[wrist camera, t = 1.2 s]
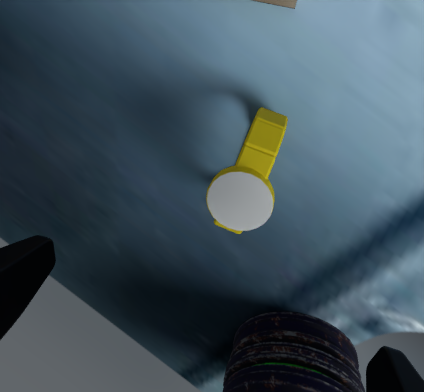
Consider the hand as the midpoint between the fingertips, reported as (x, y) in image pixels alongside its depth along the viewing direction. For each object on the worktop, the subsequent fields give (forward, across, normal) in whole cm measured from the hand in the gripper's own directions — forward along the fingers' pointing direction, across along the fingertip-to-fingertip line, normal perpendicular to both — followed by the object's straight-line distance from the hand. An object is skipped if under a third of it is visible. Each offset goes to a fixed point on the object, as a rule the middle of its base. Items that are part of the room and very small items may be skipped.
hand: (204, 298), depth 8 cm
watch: (+11, 0, 0) cm, 11 cm away
